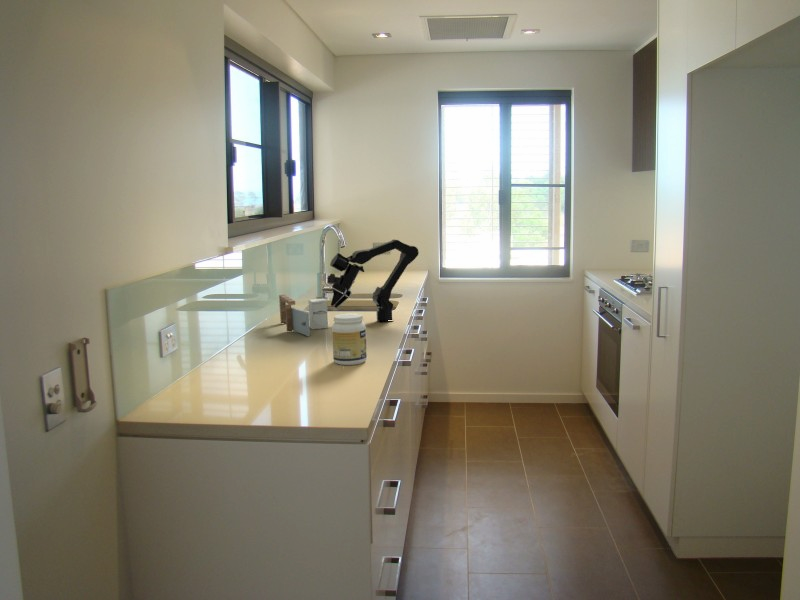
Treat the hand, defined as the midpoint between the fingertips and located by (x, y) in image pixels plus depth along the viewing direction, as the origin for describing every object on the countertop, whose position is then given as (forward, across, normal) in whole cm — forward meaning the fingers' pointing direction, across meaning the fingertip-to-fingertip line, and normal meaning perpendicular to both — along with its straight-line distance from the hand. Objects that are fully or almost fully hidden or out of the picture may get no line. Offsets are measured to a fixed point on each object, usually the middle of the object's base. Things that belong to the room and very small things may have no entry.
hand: (333, 306), depth 317 cm
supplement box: (+12, 0, -2) cm, 12 cm away
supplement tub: (+15, +61, +27) cm, 69 cm away
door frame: (+18, -1, -15) cm, 24 cm away
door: (+17, +14, -5) cm, 22 cm away
